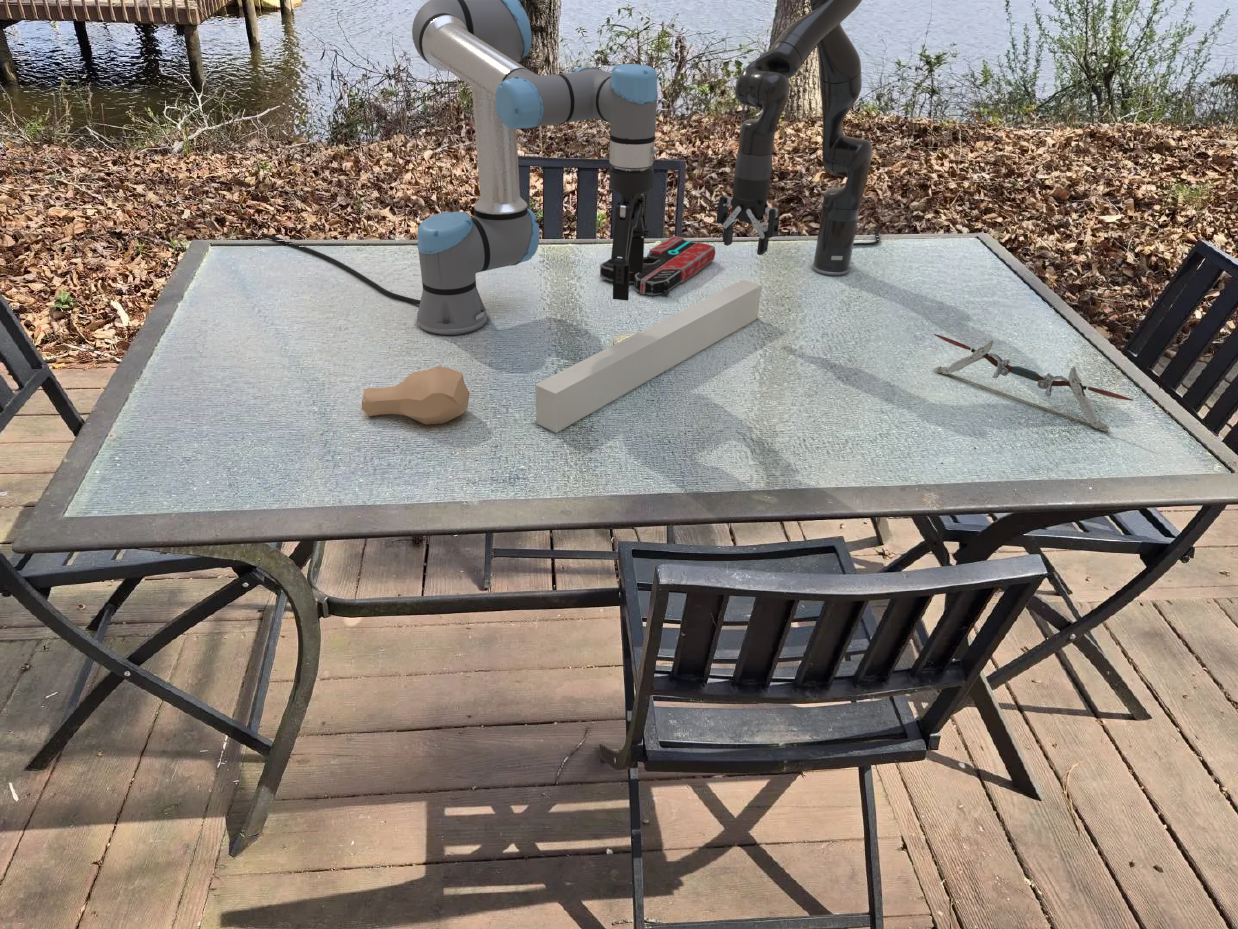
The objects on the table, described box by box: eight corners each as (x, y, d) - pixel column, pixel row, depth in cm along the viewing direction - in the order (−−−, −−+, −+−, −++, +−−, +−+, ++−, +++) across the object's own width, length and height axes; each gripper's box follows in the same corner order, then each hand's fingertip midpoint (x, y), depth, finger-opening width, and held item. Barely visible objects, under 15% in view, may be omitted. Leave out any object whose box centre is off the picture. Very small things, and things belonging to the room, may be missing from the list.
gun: (594, 265, 215) (663, 284, 207) (655, 228, 237) (719, 244, 229) (593, 282, 218) (662, 301, 210) (654, 244, 240) (718, 261, 232)
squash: (470, 431, 159) (458, 392, 152) (363, 439, 160) (347, 401, 154) (477, 393, 166) (467, 355, 160) (375, 401, 168) (361, 364, 162)
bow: (1121, 433, 163) (1140, 386, 158) (1118, 437, 162) (1137, 389, 156) (928, 365, 184) (939, 321, 179) (924, 368, 183) (935, 324, 178)
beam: (556, 433, 159) (555, 393, 154) (536, 423, 161) (535, 384, 157) (757, 318, 203) (761, 285, 198) (739, 312, 205) (743, 279, 201)
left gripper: (639, 187, 137) (635, 314, 149) (665, 149, 157) (660, 262, 169) (592, 184, 138) (592, 309, 150) (625, 146, 159) (622, 259, 170)
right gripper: (791, 177, 181) (781, 253, 190) (734, 163, 188) (726, 237, 197) (772, 184, 176) (762, 261, 185) (714, 170, 183) (707, 245, 192)
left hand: (628, 285), depth 160 cm, fingers open, 13 cm apart
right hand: (744, 249), depth 191 cm, fingers open, 8 cm apart
